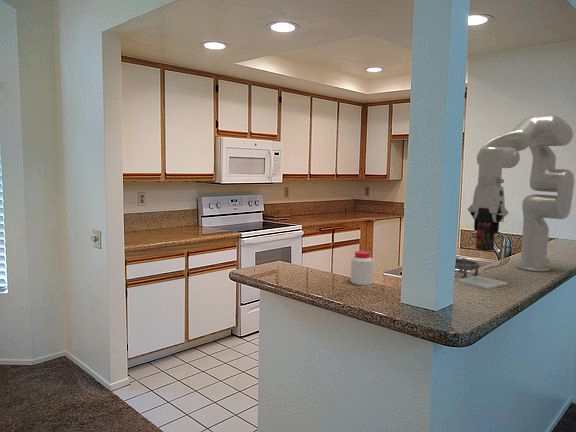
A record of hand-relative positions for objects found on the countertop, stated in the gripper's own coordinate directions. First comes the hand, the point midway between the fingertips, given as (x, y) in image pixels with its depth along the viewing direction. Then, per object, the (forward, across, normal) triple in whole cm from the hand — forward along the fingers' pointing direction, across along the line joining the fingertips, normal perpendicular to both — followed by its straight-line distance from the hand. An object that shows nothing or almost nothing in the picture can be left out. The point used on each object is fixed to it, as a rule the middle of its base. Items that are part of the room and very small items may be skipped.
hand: (485, 231), depth 159 cm
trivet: (+19, 0, 0) cm, 19 cm away
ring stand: (+19, +12, -5) cm, 23 cm away
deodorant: (+7, 0, 0) cm, 7 cm away
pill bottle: (+20, +22, +39) cm, 49 cm away
